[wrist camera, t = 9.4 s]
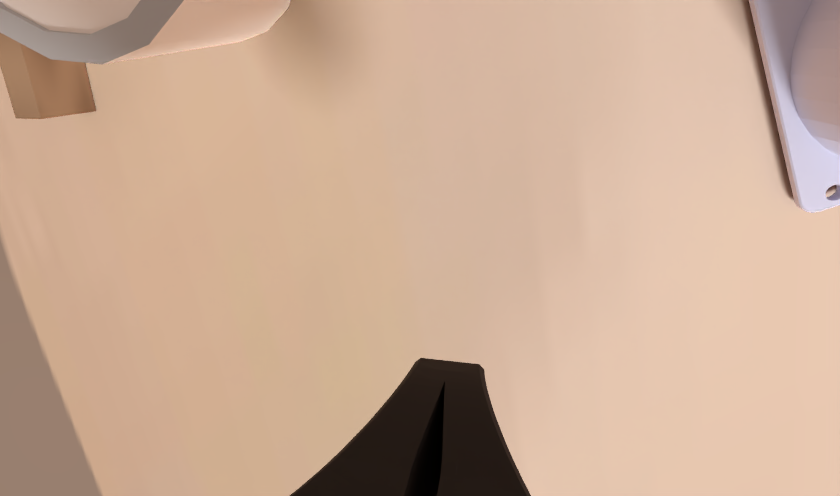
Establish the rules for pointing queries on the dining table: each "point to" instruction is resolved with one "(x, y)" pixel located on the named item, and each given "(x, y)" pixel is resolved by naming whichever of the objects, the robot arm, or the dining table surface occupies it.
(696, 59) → the dining table surface
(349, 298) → the dining table surface
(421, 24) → the dining table surface
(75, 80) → the corner stop
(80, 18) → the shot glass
